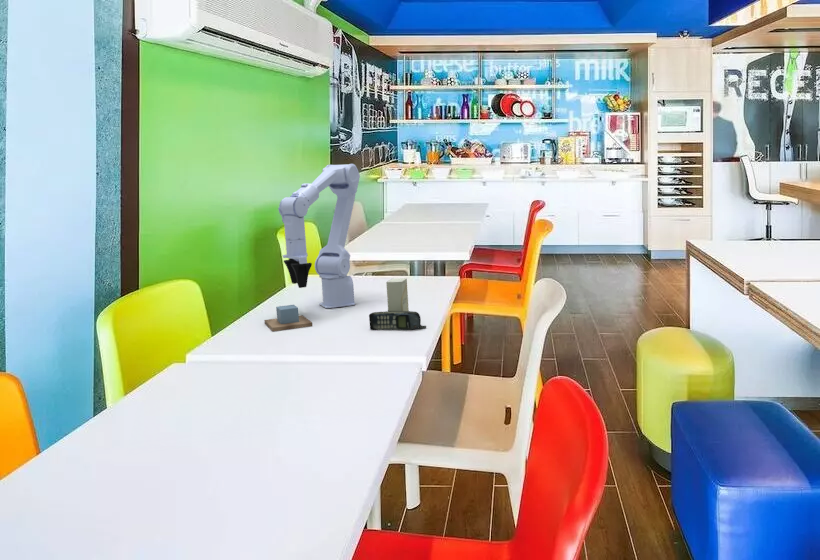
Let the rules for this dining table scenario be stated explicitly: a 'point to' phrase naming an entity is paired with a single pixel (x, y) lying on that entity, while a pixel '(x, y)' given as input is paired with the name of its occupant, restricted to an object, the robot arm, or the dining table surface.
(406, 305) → the skincare box
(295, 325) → the board
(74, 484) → the dining table surface
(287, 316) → the slate blue cube
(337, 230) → the robot arm
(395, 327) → the mobile phone
